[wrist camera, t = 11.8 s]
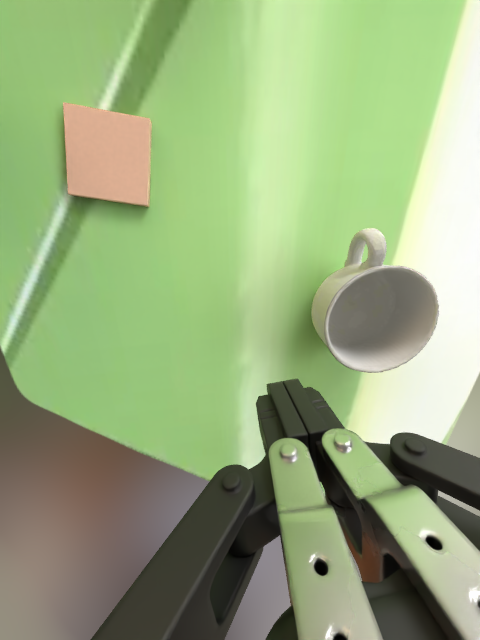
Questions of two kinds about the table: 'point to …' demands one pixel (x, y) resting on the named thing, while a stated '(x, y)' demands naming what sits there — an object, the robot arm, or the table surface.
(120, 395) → the table surface
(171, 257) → the table surface
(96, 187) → the sticky note pad
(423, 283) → the teacup
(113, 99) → the table surface
